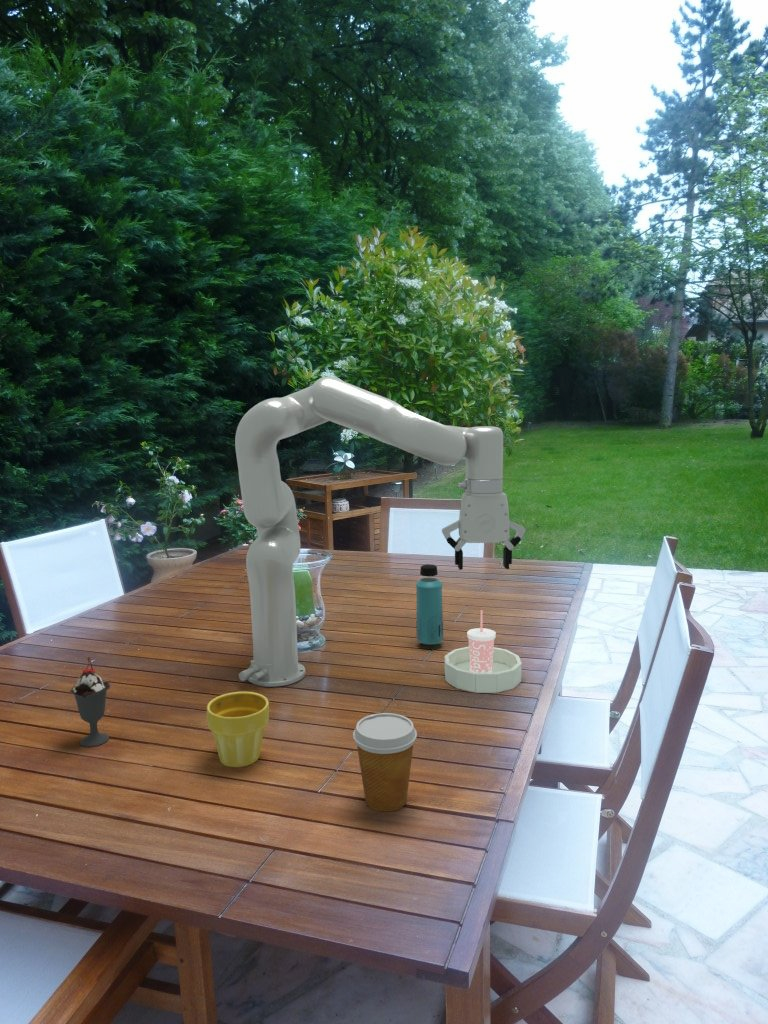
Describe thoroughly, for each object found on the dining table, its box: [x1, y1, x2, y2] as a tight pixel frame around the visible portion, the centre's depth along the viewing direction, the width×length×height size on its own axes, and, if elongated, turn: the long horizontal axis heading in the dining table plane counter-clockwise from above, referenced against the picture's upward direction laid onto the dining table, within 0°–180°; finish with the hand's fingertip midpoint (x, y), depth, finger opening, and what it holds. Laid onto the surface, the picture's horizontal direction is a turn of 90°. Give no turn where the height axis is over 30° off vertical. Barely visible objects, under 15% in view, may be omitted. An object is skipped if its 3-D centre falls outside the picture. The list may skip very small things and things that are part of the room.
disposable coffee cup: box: [352, 712, 418, 812], centre depth 107 cm, size 10×10×12 cm
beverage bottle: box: [415, 564, 444, 645], centre depth 170 cm, size 6×7×20 cm
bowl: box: [444, 646, 523, 694], centre depth 153 cm, size 16×16×4 cm
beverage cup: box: [466, 609, 497, 673], centre depth 152 cm, size 6×6×14 cm
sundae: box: [69, 656, 111, 748], centre depth 126 cm, size 7×7×15 cm
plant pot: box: [206, 691, 270, 768], centre depth 120 cm, size 10×10×10 cm
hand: (483, 567), depth 149 cm, fingers open, 9 cm apart
